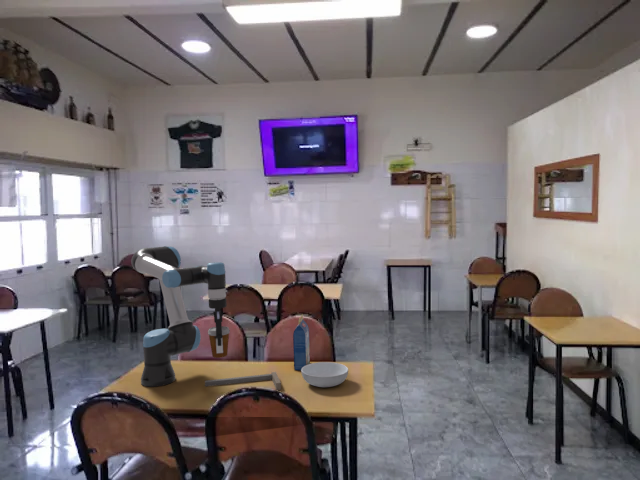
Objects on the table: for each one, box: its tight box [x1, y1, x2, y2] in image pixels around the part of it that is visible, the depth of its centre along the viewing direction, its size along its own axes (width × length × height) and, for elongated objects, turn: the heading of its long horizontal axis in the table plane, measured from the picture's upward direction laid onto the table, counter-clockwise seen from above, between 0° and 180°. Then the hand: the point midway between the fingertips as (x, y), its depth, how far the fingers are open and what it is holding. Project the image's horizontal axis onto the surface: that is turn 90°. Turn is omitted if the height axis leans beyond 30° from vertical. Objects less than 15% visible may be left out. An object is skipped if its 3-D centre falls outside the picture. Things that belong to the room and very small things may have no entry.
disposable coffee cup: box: [207, 326, 231, 359], centre depth 210 cm, size 10×10×12 cm
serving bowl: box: [300, 361, 349, 388], centre depth 215 cm, size 21×21×7 cm
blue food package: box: [292, 313, 311, 371], centre depth 240 cm, size 6×12×25 cm, turn 173°
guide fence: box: [204, 371, 282, 391], centre depth 214 cm, size 32×16×3 cm, turn 103°
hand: (219, 350), depth 211 cm, fingers closed on disposable coffee cup, 8 cm apart
